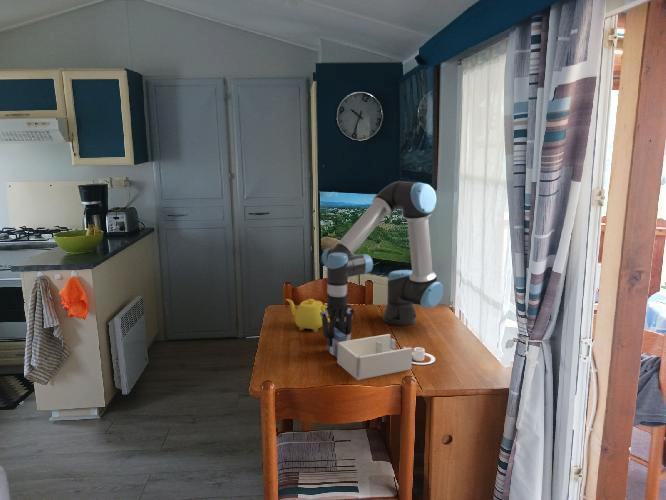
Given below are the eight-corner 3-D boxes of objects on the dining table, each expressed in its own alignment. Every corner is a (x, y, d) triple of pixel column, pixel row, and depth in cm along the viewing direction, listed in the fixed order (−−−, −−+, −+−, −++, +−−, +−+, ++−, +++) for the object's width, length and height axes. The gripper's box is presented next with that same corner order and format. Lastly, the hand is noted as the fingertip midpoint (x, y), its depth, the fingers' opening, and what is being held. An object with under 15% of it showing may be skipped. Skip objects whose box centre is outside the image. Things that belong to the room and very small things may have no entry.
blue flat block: (334, 349, 215) (334, 327, 213) (346, 358, 206) (346, 335, 204) (326, 350, 214) (327, 328, 212) (338, 359, 205) (338, 336, 203)
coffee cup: (351, 346, 218) (351, 310, 215) (326, 344, 220) (327, 308, 217) (355, 337, 228) (356, 303, 225) (331, 336, 229) (332, 301, 226)
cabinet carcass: (388, 353, 212) (389, 333, 210) (411, 369, 197) (412, 348, 196) (337, 362, 202) (337, 342, 201) (357, 380, 188) (357, 358, 187)
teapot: (325, 334, 231) (325, 305, 228) (280, 329, 236) (280, 301, 233) (334, 324, 244) (334, 296, 241) (291, 319, 249) (291, 292, 246)
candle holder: (420, 351, 215) (421, 341, 214) (441, 362, 205) (442, 351, 204) (396, 357, 209) (397, 346, 208) (417, 368, 199) (417, 357, 198)
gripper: (351, 289, 212) (350, 346, 216) (313, 294, 205) (313, 353, 210) (360, 294, 205) (359, 353, 210) (321, 299, 198) (321, 360, 203)
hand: (336, 353), depth 210 cm, fingers closed on blue flat block, 3 cm apart
